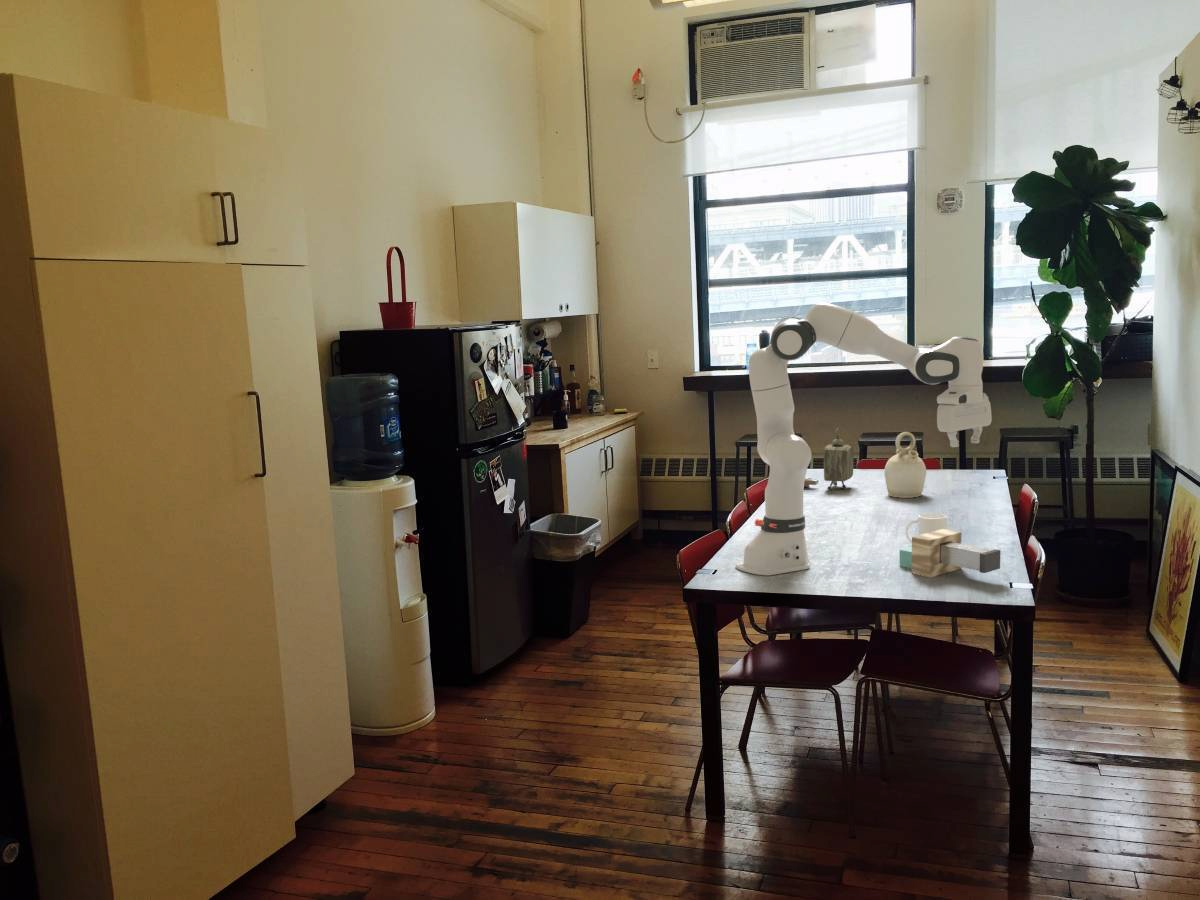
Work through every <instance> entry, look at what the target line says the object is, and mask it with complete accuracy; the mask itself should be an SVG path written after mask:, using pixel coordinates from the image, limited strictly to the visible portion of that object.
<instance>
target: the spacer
mask: <svg viewBox="0 0 1200 900" xmlns="http://www.w3.org/2000/svg"><path fill="white" fill-rule="evenodd" d="M901 566H903V567H902V568H905V567H907V568H906V569H910V568H912V545H910V546H908V547H904V548H901V549H899V567H901Z"/></svg>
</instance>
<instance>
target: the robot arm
mask: <svg viewBox="0 0 1200 900" xmlns="http://www.w3.org/2000/svg"><path fill="white" fill-rule="evenodd" d="M772 329H773V330H772V332H771V336H770V341H769V343H768V345H767V346H766V347H762V348H759V349H758V350H755V351H754V352H753V353H752V354H751V355H750V357H748V358H749V359H748V375H749V384H750V390H751V394H752V399H753V404H754V410H755V416H756V425H757V426H756V430H757V431H756V432H757V445H756V449H757V453H758V455H759V457H760V459H761V460H762V461H763V462H764V463H765V464H767V465H768V466H769V473H768V479H767V483H766V484H767V485H766V487H765V489H764V510H765V511H764V513H765V514H764V516H763V519H758V518H756V519H755V520H754V525H755V527H759V528H760V531H758V532H757V534H756V535H755V536H754V537H753V539H752V540H751V541H749V542H748V543H747V544H746V546H745V548H744V551H743V560H741V561H739V562H736V563H735V569H737V570H739V571H741V572H746V573H749V574H753V575H760V576H773V575H780V574H785V573H792V572H797V571H804V570H809V569H810V568H811V562H810V559H809V555H808V549H807V541H806V537H805V528H806V517H805V515H804V489H805V481H806V477H807V471H808V467H809V465H810V463H811V460H812V450H811V448H810V446H809V445H808V443H807V442H806V440H804V438H802V437H800V436H798V435H796V434H795V431H794V413H795V403H794V398H793V394H792V389H791V382H790V378H789V374H788V364H789V361H795V360H798V359H800V358H801V357H803V356H804V355H806V353H807V352H808V351H809V350H810V348H811V347H812V346H813V345H814V344H815V343H817V342H821V343H824V344H827V345H828V346H829V345H830V346H832V347H834V348H836V349H838V350H841V351H844V352H847V353H851V354H855V355H861V356H863V355H864V356H865V355H871V356H872V355H873V356H876V357H877V356H878V357H881V358H884V359H886V360H888V361H890V362H893V363H895V364H897V365H900V366H902V367H903V368H905V369H907V371H909V372H910V373H911V375H912V376H913V377H914V378H915V379H916V380H918V381H920V382H922V383H924V384H927V385H939V384H942V383H946V382H948V389H946V390H944V391H943V392H942V393H941V394H939V395H937V396H936V402H937V404H938V406H937V410H936V425H937V427H936V428H937V429H938V431H939V432H942V433H946V435H947V438H948V439H949V446H950V447H951V448H958V447H959V446H960V444H959V443H960V441H959V440H958V439H957V436H956V435H958V431H964V430H969V429H970V430H971V429H972V430H973V432H972V433H973V434H972V436H971V437H970V443H971V444H979V443H980V437H981V434H982V432H983V427H988V426H990V425H991V423H992V421H993V420H992V419H993V418H992V407H991V402H990V400H989V396H988V395H987V393H985V392H983V388H984V386H983V380H982V374H983V369H984V356H983V346H982V343H981V342H980V341H979V340H977V339H976V338H973V337H968V336H967V337H966V336H961V335H960V336H959V335H957V336H956V335H955V336H951V338H950V339H949V340H947V341H945V342H944V343H941V344H939V345H938V346H935V347H931V346H923V347H922V346H920V347H919V346H915V345H911V344H910V343H907V342H904V341H902V340H899V339H897V338H894V337H893V336H890V335H888V334H886V333H885V332H884V331H883V330H881V328H880V327H879V326H878V325H877V324H876V323H874V322H873V321H871V319H869V318H867V317H865V316H864V315H862V314H860V313H858V312H856V311H853V310H852V309H848V308H845V307H843V306H840V305H836V304H832V303H828V302H822V301H821V302H817V303H815V304H814V305H813V306H812V307H810V309H809V310H808V311H807V314H806V315H805V317H804V318H802V319H800V318H799V317H795V316H794V317H790V316H789V317H786V318H784V319H781V321H779V322H778V323H777V324H776V325H775V326H774V327H773V328H772Z"/></svg>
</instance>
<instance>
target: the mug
mask: <svg viewBox="0 0 1200 900" xmlns="http://www.w3.org/2000/svg"><path fill="white" fill-rule="evenodd" d="M914 524H917V525H918V527H917V535H921V534H925V533H929V532H933V531H937V530H941V529H947V530H948V516H947V515H946V514H942V513H935V512H927V513H925V512H924V513H920V514H918V515H917V519H914V520H912V521H910V522H909V523H908V524H907V526H906V529H905V535H906V538H907V540H908V541H909V543H911V544H912V538H911V537H909V533H908V530H909V528H910V527H911V526H912V525H914Z"/></svg>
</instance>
